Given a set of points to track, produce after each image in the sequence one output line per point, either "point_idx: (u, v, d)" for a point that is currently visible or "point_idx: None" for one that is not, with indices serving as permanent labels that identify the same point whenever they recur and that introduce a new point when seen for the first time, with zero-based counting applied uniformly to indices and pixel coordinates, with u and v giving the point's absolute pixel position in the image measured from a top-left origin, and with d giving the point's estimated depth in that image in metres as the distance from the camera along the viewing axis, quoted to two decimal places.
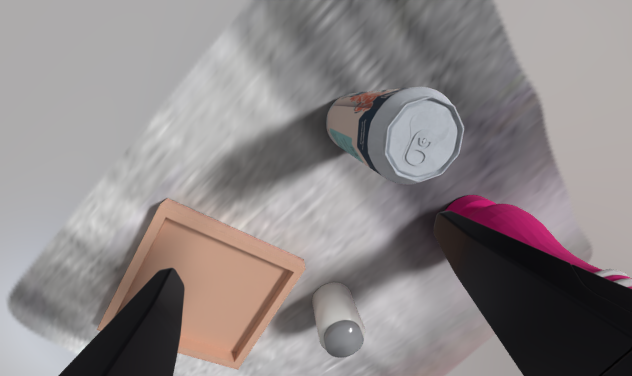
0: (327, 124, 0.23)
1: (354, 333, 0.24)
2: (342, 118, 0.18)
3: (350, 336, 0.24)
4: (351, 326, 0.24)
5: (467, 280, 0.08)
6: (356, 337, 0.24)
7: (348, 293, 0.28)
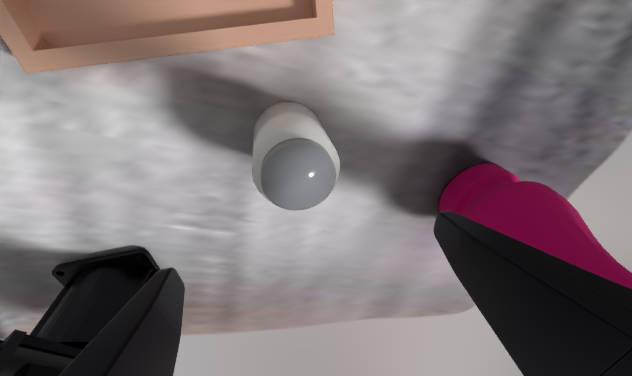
0: None
1: (325, 180, 0.13)
2: None
3: (316, 179, 0.13)
4: (334, 166, 0.12)
5: (467, 280, 0.08)
6: (319, 188, 0.13)
7: None
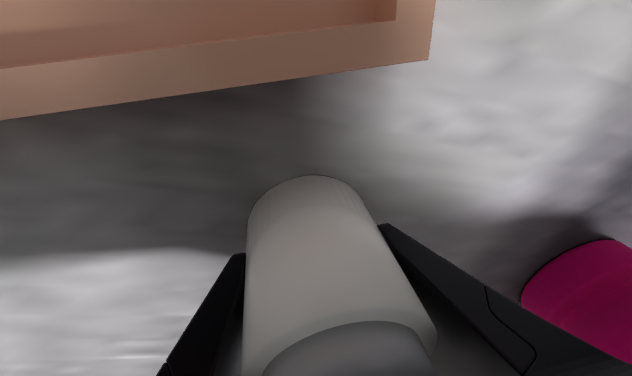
0: None
1: None
2: None
3: None
4: None
5: None
6: None
7: None
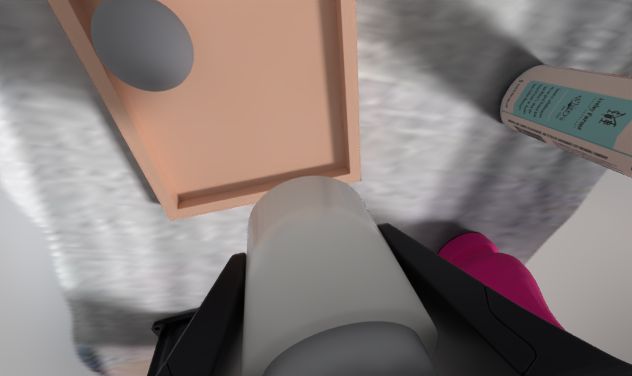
0: (522, 75, 0.19)
1: None
2: (609, 80, 0.15)
3: None
4: None
5: None
6: None
7: None
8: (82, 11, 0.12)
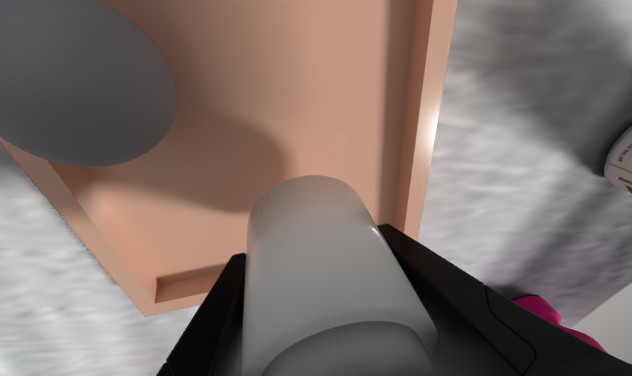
0: None
1: None
2: None
3: None
4: None
5: None
6: None
7: None
8: None
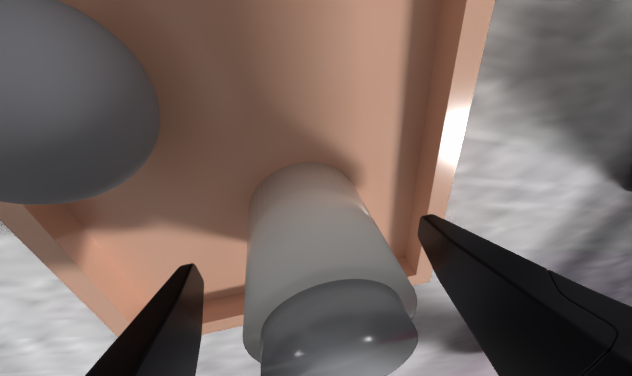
0: None
1: (393, 353, 0.06)
2: None
3: (376, 355, 0.06)
4: (416, 332, 0.06)
5: (448, 284, 0.08)
6: (380, 365, 0.06)
7: None
8: None
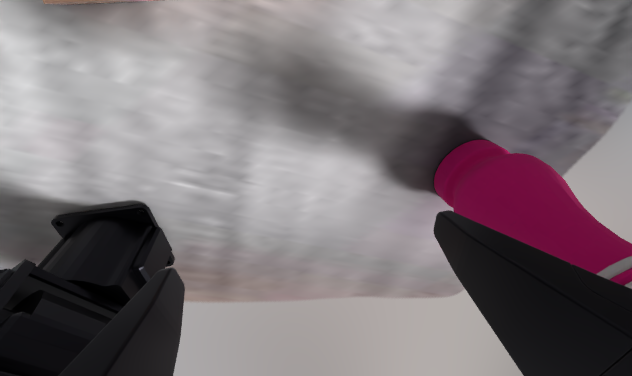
0: None
1: None
2: None
3: None
4: None
5: (467, 280, 0.08)
6: None
7: None
8: None
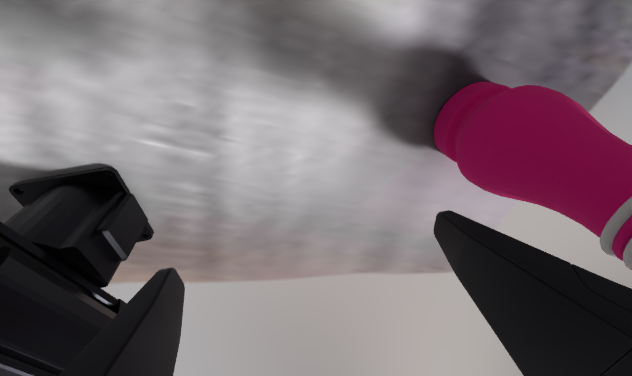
0: None
1: None
2: None
3: None
4: None
5: (467, 280, 0.08)
6: None
7: None
8: None
